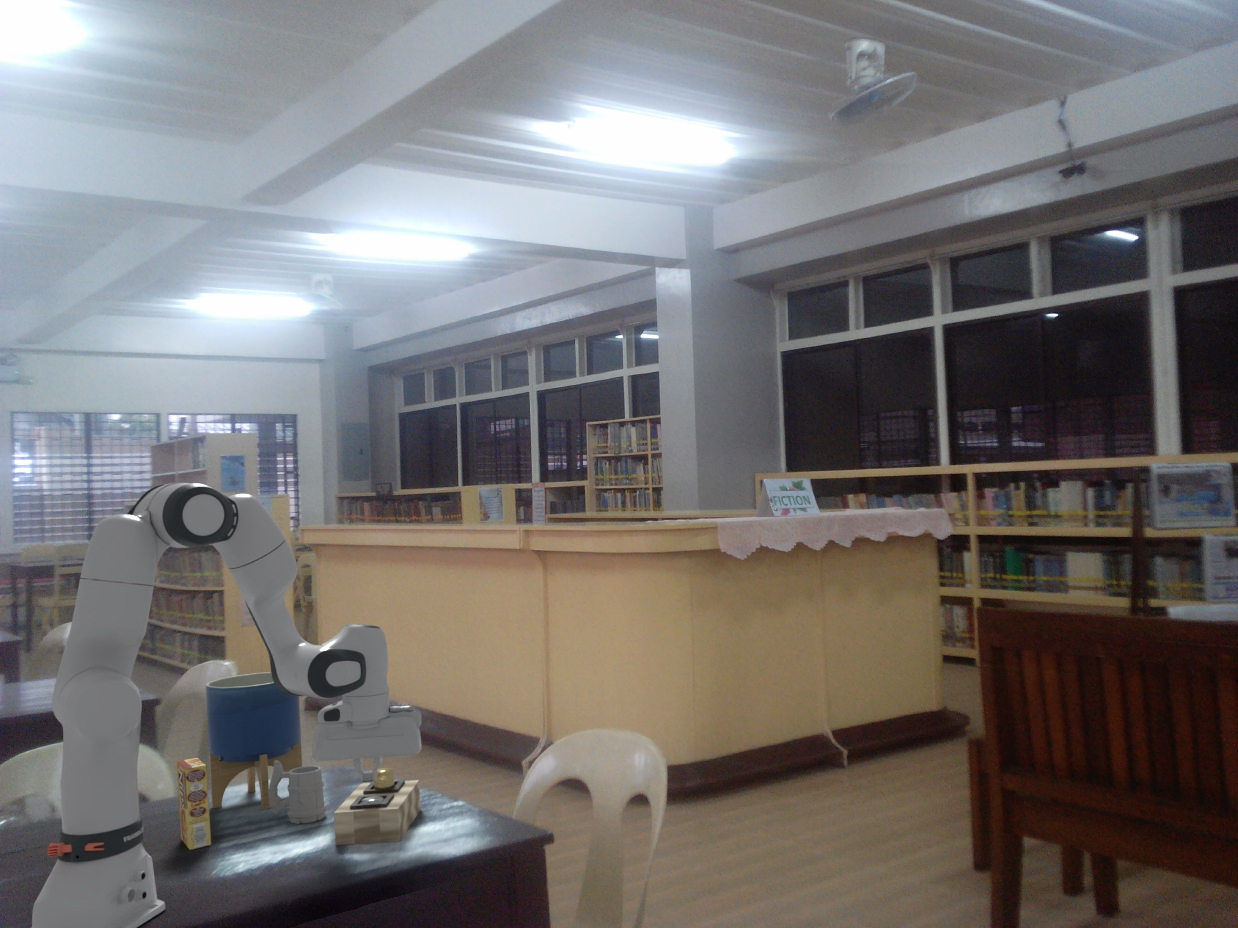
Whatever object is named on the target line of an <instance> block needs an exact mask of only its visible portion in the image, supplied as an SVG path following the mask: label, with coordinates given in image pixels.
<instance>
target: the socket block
mask: <svg viewBox="0 0 1238 928" xmlns="http://www.w3.org/2000/svg"><path fill="white" fill-rule="evenodd" d="M394 784H395V787H394V788H387V789H374V782H363V783H360V784H359V785H358V786H357V787H356V788H355V789H354V790H353V792H351V793H350V794H349V796H348V797H346V799H345V800H344V801H343V803H341V804H340V805H339V807H338V808H337V809H336V810H335V811H334V812H333V820H334V821H333V822H334V837H335V839H334V840H335V846H346V845H360V844H361V845H364V844H374V843H375V844H376V843H377V844H378V843H393V842H401V840H402V839H403V838H404V836H405V834H406V833H407V832H408V830H409V828H410V827H411V826H412V824H413V822H414V820H415V819H416V818H417V816H418V815H419V813H420V812H421V810H422V807H421V803H422V802H421V791H420V790H421V789H420V780H419V779H417V780H416V779H414V780H406V779H400V780H394ZM373 796H380V797H383V802H382V803H368V804H362V799H364V798H367V797H373Z"/></svg>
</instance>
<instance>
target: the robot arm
mask: <svg viewBox="0 0 1238 928" xmlns="http://www.w3.org/2000/svg"><path fill="white" fill-rule="evenodd" d="M211 545H212V546H213V547H214V548H215V550H217V552H218V553H219V554H220V556H221V558H222V561H223V562H224V564H225V565H226V567H227V569H228V572H229V573H230V575H231V576H232V578H233V580H234V581H235V583H236V585H237V587H238V589H239V590H240V593H241V594H242V597H243V600H244V601H245V605H246V607H247V610H248V612H249V615H250V616H251V619H252V621H253V623H254V626H256V629H257V631H258V633H259V636H260V638H261V639H262V642H263V645H264V646H265V648H266V650H267V653H268V654H267V655H268V658H269V663H270V672H271V674H272V678H273V681H274V683H275V685H276V686H277V688H278V689H279V690H280V691H282V692H283V693H285V694H287V695H290V696H299V697H308V698H313V699H314V698H315V699H317V698H318V699H323V700H324V699H325V700H328V699H333V698H338V697H340V696H341V700H339V701H337V702H334V703H331V704H328V705H326V706H324V707H323V708H321V709H319V711H318V713H317V720H318V722H319V724H317V726H316V727H315V729H314V731H313V735H312V737H313V738H312V747H311V754H312V755H311V756H312V758H313V759H314V760H315V762H332V761H347V760H353V767H354V768H355V770H357V772H358V774H359V783H371V782H376V780H377V770H378V769H380V765H382V764H381V763H382V762H383V758H391V757H408V756H409V757H411V756H417V755H418V754H419V753H420V752H421V750H422V737H421V730H420V727H421V725H422V723H423V720H422V719H423V718H422V717H423V716H422V713H421V710H420V709H418V707H414V705H405V706H403V705H402V706H398V705H397V706H390V688H389V687H390V686H389V685H388V680H387V679H388V678H387V676H388V672H389V653H388V645H387V638H386V635H385V632H384V630H383V629H382V628H381V627H380V626H377V625H371V624H359V623H347V624H345V625H344V626H343V627H342V629H341V630H340V631H339V632H338V633H337V634H336V635H335V636H333V637H331V638H330V639H328V640H327V641H326V642H323V643H321V644H312V643H310V642H308V641H306V640H305V639H304V638H303V637H302V636H301V635H300V634H299V632H298V629H297V627H296V625H295V623H294V621H293V618H292V617H291V616H292V615H291V614H290V612H289V610H288V607H287V605H286V602H285V594H286V593H287V591H289V589H290V588H292V586H293V584H294V582H295V580H296V577H297V575H298V569H299V568H298V563H297V561H296V560H297V559H296V557H295V554H294V551H293V550H292V547H291V545H290V544H289V542H288V540H287V539H286V536H285V534H284V533H283V531H282V529H281V527H280V526H279V525H278V523H277V522H276V520H275V518H274V517H273V516H272V515H271V513H270V512H269V510H268V509H267V508H266V507H265V506H264V505H263V503H262V502H261V500H259V498H257V497H255V496H254V495H252V494H249V493H236V494H232V495H229V496H226V495H224V494H223V493H221V492H220V491H219V490H218V489H216V488H214V487H211V486H209V485H207V484H204V483H199V482H197V483H196V482H194V483H190V482H182V481H177V482H170V483H166V484H159V485H156V486H153V487H152V488H150V489H148V490H147V491H146V492H144V493H143V495H141V496H140V498H139V499H138V500H137V501H136V503H135V504H134V505H133V507H132V508H131V509H130V510H129V511H128V512H127V513H124V514H123V513H121V514H114V515H110V516H107V517H104V518H103V519H102V520H100V521H99V522H98V523H97V525H96V527H95V528H94V531H93V532H92V536H91V539H90V541H89V544H88V546H87V547H88V548H87V549H86V553H85V556H84V560H83V563H82V567H81V573H80V579H79V582H78V589H77V594H76V597H75V598H76V599H75V602H74V603H75V605H74V610H73V615H72V619H71V625H70V629H69V634H68V637H67V641H66V643H65V647H64V650H63V652H62V653H63V654H62V657H61V660H60V664H59V667H58V671H57V677H56V680H55V684H54V688H53V691H52V692H53V693H52V697H51V709H52V712H53V715H54V716H55V718H56V719H57V721H58V722H59V723H60V724H61V727H62V733H63V734H62V735H63V739H62V742H63V744H62V761H61V762H62V765H61V774H60V775H61V776H60V780H59V782H60V783H59V784H60V803H61V804H60V805H61V828H62V829H61V830H60V832H59V836H58V840H57V843H56V842H50V844H49V845H48V847H47V852H46V853H47V856H48V857H50V858H52V857H55V858H56V862H55V864H54V866H53V868H52V870H51V872H50V874H49V875H48V877H47V880H46V881H45V883H44V885H43V887H42V888H41V891H40V893H39V894H38V895H37V897H36V900H35V902H34V904H33V907H32V913H31V914H32V916H31V918H32V919H31V925H32V926H31V927H30V928H138V927H140V926H141V925H143V924H144V923H146V922H147V921H149V920H151V919H152V918H154V917H155V916H157V915H159V914H160V913H162V912H163V911H165V910H166V903H165V901H164V900H160V899H158V895H157V893H158V892H157V887H156V879H155V873H154V864H153V858H152V856H151V855H150V854H149V853H148V852H147V851H146V849H145V848H144V845H143V844H142V842H143V840H144V831H145V830H144V829H145V828H144V824H143V818H142V816H140V810H139V809H140V806H139V805H140V803H139V785H138V784H139V783H138V781H139V779H138V761H139V751H140V741H141V740H140V739H141V726H142V725H141V723H142V718H141V717H142V708H143V707H142V706H143V703H142V697H141V694H140V690H139V689H138V687H137V686H136V684H135V683H134V682H133V681H132V680H131V678H132V674H133V670H134V666H135V663H136V660H137V656H138V653H139V652H140V648H141V645H142V642H143V639H144V638H145V636H146V634H147V628H148V622H149V617H150V616H149V615H150V611H151V605H152V599H153V594H154V585H155V582H156V581H155V580H156V572H157V567H158V565H159V562H160V560H161V557H162V556H163V554H164V553H165V552H166V550H167V549H169V548H170V547H171V548H176V549H186V548H187V549H188V548H201V547H202V548H203V547H206V546H211ZM363 759H372V763H373V764H375V765H374V767H373V769H372V770H365V769H364V767H363V765H362V763H363Z"/></svg>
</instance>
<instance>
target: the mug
mask: <svg viewBox="0 0 1238 928" xmlns="http://www.w3.org/2000/svg"><path fill="white" fill-rule="evenodd" d="M322 773H323V772H322V767H321V766H318V765H308V766H307V765H306V766H302V767H298V768H295V769H292V770H290V771H289V772H284V771H283V766H282V764H281V763H280V761H278V760H275V761H274V767H273V771H272V775H271V779H270V782H269V790H268V795H269V804H270V809H272V810H273V813H274V814H275V815H278V814H280V812H281V811H282V810H283V809H284V808H285V807H288V808H287V816H288V819H289V822H290V824H297V825H298V824H308V823H313V822H316V821H320V820H322V819H324V818H325V817H326V811H327V804H326V803H325V796H324V786H325V784H324V780H323V776H322ZM282 779H288V785H287V792H288V797H287V798H284V799H282V798H281V797H280V795H278V786H279V783H281V781H282Z"/></svg>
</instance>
